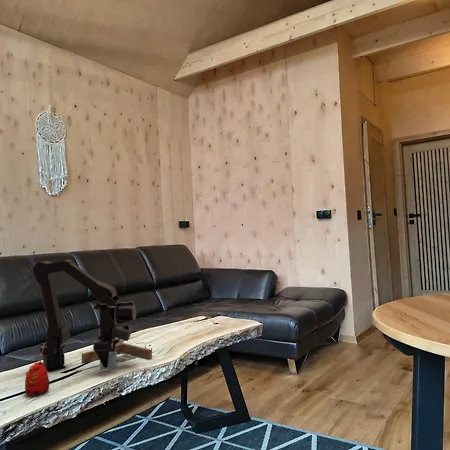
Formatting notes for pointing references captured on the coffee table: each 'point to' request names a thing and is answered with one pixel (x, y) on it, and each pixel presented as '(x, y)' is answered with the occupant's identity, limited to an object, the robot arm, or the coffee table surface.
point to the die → (120, 341)
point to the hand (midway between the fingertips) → (108, 363)
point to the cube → (110, 361)
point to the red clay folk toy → (37, 379)
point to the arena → (121, 349)
